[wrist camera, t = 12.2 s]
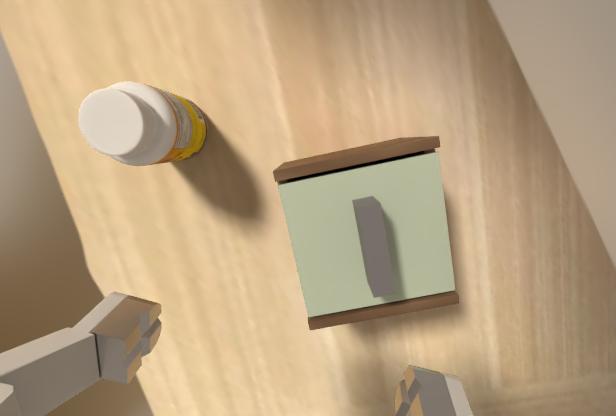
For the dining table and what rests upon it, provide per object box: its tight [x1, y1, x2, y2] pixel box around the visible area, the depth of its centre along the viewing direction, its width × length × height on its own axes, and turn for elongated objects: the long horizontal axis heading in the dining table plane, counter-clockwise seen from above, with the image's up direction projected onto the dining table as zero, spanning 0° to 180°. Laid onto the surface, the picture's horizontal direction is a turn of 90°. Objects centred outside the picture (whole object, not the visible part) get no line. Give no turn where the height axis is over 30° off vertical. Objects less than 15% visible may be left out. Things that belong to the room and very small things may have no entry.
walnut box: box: [273, 136, 459, 330], centre depth 26 cm, size 12×11×9 cm
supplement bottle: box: [78, 81, 208, 166], centre depth 23 cm, size 6×6×10 cm
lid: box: [278, 152, 455, 317], centre depth 21 cm, size 10×11×3 cm
